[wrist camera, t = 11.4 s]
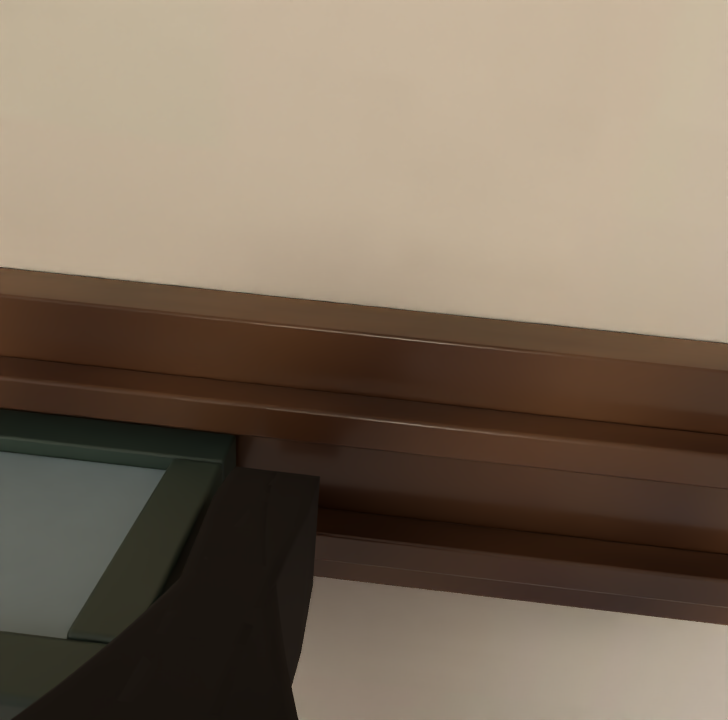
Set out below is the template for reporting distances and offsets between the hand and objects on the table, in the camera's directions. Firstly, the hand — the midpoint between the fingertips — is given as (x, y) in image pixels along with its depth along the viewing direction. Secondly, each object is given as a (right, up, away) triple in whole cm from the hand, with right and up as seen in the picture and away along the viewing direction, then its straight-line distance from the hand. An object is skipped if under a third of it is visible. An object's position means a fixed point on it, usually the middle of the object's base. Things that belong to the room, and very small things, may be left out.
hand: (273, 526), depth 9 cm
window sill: (+7, 0, +2) cm, 8 cm away
